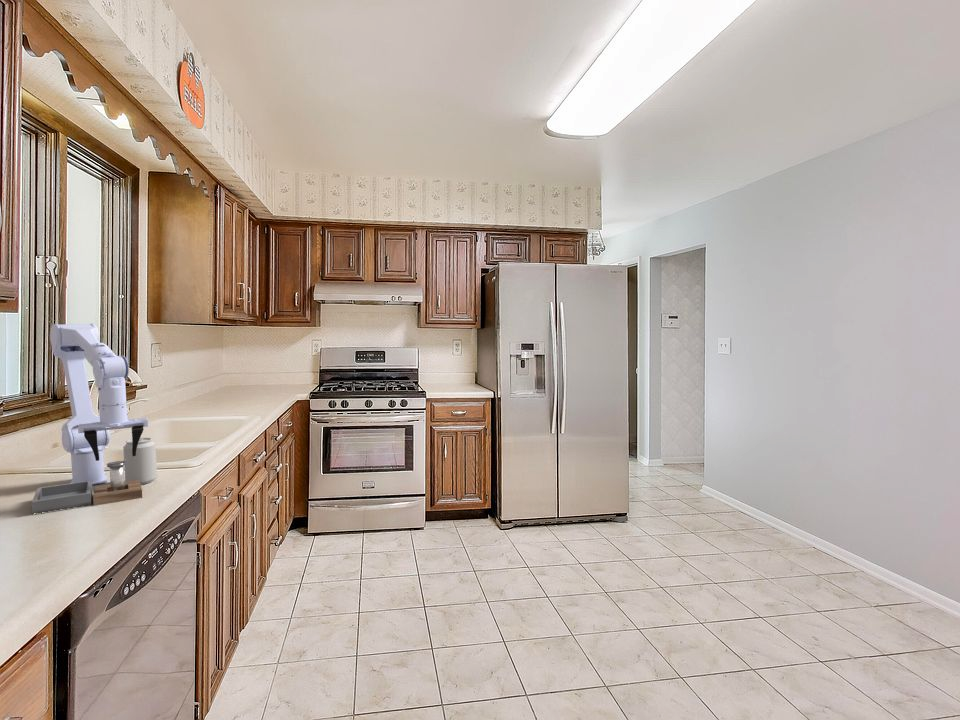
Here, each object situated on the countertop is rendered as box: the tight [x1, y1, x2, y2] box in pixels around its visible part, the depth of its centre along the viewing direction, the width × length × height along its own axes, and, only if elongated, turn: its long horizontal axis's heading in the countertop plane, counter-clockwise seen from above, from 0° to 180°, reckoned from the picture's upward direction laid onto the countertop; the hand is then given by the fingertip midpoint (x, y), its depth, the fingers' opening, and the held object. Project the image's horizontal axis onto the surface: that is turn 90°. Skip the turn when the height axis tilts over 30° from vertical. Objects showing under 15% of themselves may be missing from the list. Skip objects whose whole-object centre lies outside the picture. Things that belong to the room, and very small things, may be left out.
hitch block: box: [92, 480, 143, 506], centre depth 137 cm, size 10×10×2 cm
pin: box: [106, 460, 126, 492], centre depth 137 cm, size 4×4×9 cm
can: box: [122, 437, 158, 485], centre depth 149 cm, size 8×8×12 cm
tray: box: [31, 480, 94, 515], centre depth 132 cm, size 13×11×3 cm
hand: (116, 457), depth 136 cm, fingers open, 7 cm apart
